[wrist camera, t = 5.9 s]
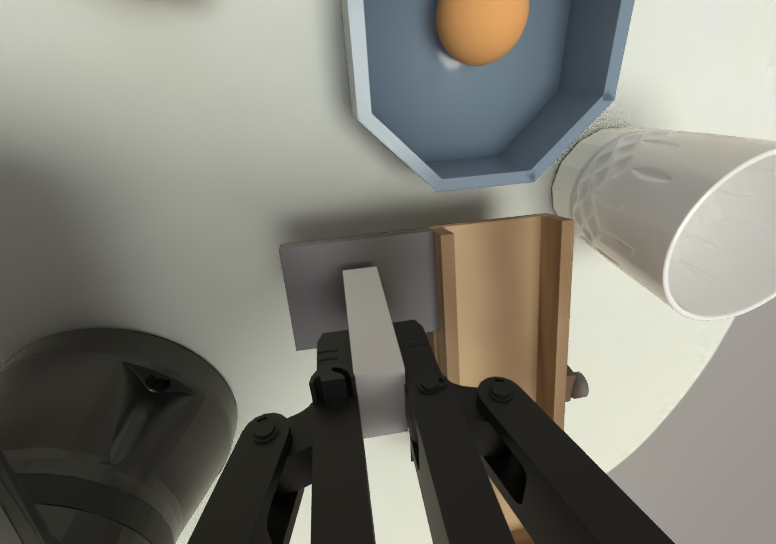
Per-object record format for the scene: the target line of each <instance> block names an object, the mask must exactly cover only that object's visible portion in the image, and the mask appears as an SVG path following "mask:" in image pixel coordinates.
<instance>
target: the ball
mask: <svg viewBox="0 0 776 544" xmlns="http://www.w3.org/2000/svg"><path fill="white" fill-rule="evenodd" d="M528 13H529V0H438V4H437V10H436V27H437V32H438V36H439V39H440V41H441V43H442V45H443V47H444V49H445V50H446V51H447V52H448V54H449V55H451V56H452V57H453V58H454V59H456V60H457V61H459V62H461V63H463V64H466V65H471V66H482V65H487V64H490V63H492V62H495V61H497V60H499V59H500V58H502V57H503V56H505V55H506V54H507V53H508V52H509V51H510V50H511V49H512V48H513V47H514V46H515V44H516V43H517V41H518V40H519V38H520V37H521V35H522V33H523V31H524V28H525V26H526V22H527V19H528Z"/></svg>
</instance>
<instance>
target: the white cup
mask: <svg viewBox="0 0 776 544" xmlns="http://www.w3.org/2000/svg"><path fill="white" fill-rule="evenodd" d="M552 195H553V209H554V211H555V212H556V214H557V215H558V216H561V217H565V218H569V219H573V220H575V224H574V233H576V234H577V235H579V236H580V237H581V238H582V239H583V240H584V241H585V242H586V243H587V244H588V245H590V246H591V247H592V248H593V249H594V250H596V251H597V252H599V253H600V254H601V255H603V256H604V257H605V258H606V259H607V260H608V261H610V262H611V263H612V264H613V265H615V266H616V267H617V268H619V269H620V270H621V271H623V272H624V273H626V274H627V275H628V276H630V277H631V278H632V279H634V280H635V281H636V282H638V283H639V284H640V285H642V286H643V287H644V288H646V289H647V290H648V291H650V292H651V293H653V294H654V295H655V296H657V297H658V298H659V299H661V300H662V301H663V302H665V303H666V304H667V305H669V306H670V307H671V308H673V309H674V310H675V311H676V312H678V313H679V314H681V315H683V316H685V317H687V318H690V319H693V320H699V321H716V320H723V319H728V318H731V317H735V316H738V315H741V314H743V313H746V312H748V311H750V310H753V309H754V308H757V307H758V306H760V305H762V304H764V303H766V302H767V301H769V300H771V299H772V298H774V297H775V296H776V141H772V140H763V139H754V138H745V137H736V136H727V135H718V134H710V133H696V132H685V131H673V130H662V129H647V130H645V129H637V128H629V127H621V128H607V129H601V130H599V131H597V132H596V133H594V134H592V135H590V136H589V137H587V138H585V139H583V140H581V141H580V142H578V143H577V145H576V146H575V147H574V148H573V149H572V150H571V152H570V153H569V154H568V155H567V156H566V158H565V159H564V160H563V161H562V162H561V164H560V167H559V169H558V172H557V175H556V178H555V180H554V183H553V186H552Z"/></svg>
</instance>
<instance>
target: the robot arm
mask: <svg viewBox="0 0 776 544" xmlns="http://www.w3.org/2000/svg"><path fill="white" fill-rule="evenodd" d="M343 279H344V289H345V298H346V307H347V317H348V326H349V329H348V330H341V331H334V332H327V333H323V334H322V335H321V337H320V339H319V340H318V342H317V371H316V372H315V373H314V374H313V375H312V377H311V379H310V382H309V386H310V390H311V395H312V400H313V402H312V403H311V404H310V406H309V407H307V408H306V409H305V410H304V411H302V412H300V413H298V414H296V415H294V416H291V417H289V418H285V417H284V416H283V415H281V414H277V413H268V414H263V415H261V416H259V417H256V418H255V419H253V420H252V421H251V422H249V423H248V424H247V426H246V427H245V428H244V430H243V431H242V433H241V435H240V437H239V439H238V441H237V443H236V445H235V447H234V450H233V452H232V454H231V456H230V458H229V460H228V462H227V464H226V466H225V468H224V470H223V472H222V474H221V476H220V478H219V480H218V482H217V484H216V486H215V488H214V490H213V492H212V494H211V496H210V498H209V500H208V502H207V505H206V507H205V509H204V511H203V513H202V515H201V517H200V519H199V521H198V523H197V525H196V527H195V529H194V531H193V533H192V535H191V537H190V539H189V541H188V543H187V544H289V542H290V539H291V535H292V531H293V528H294V524H295V521H296V517H297V514H298V510H299V506H300V503H301V499H302V496H303V492H304V488H305V487H307V486H308V485H310V484H312V506H311V544H376V542H375V534H374V525H373V517H372V508H371V500H370V491H369V483H368V474H367V466H366V457H365V449H364V441H363V438H369V437H375V436H381V435H387V434H393V433H399V432H405V431H408V429H409V433H410V446H411V462H412V461H414V463H415V467H416V472H417V476H418V480H419V485H420V489H421V493H422V498H423V502H424V506H425V510H426V515H427V519H428V523H429V528H430V532H431V536H432V541H433V544H515V541H514V539H513V536H512V534H511V531H510V529H509V526H508V524H507V521H506V519H505V516H504V514H503V512H502V509H501V507H500V504H499V502H498V499H497V497H496V494H495V492H494V489H493V487H492V484H491V482H490V479H491V480H492V482H493V483H494V485H495V486H496V488H497V489H498V491H499V492H500V493H501V495H502V496H503V498H504V499H505V501H506V502H507V504H508V505H509V507H510V508H511V509H512V511H513V512H514V514H515V515H516V517H517V518H518V520H519V521H520V522H521V524H522V525H523V527H524V528H525V530H526V531H527V533H528V534H529V536H530V537H531V538H532V540H533V541H534V543H535V544H675V543H674V542H673V541H672V540H671V539H670V538H669V537H668V536H667V535H666V534H665V533H664V532H663V531H662V530H661V529H660V528H659V527H658V526H657V525H656V524H655V523H654V522H653V521H652V520H651V519H650V518H649V517H648V516H647V515H646V514H645V513H644V512H643V511H642V510H641V509H640V508H639V507H638V506H637V505H636V504H635V503H634V502H633V501H632V500H631V499H630V498H629V497H628V496H627V495H626V494H625V493H624V492H623V491H622V490H621V489H620V488H619V487H618V486H617V485H616V484H615V483H614V482H613V481H612V480H611V478H610V477H608V475H607V474H606V473H605V472H604V471H603V470H602V469H601V468H600V467H599V466H598V465H597V464H596V463H595V462H594V461H593V460H592V459H591V458H590V457H589V456H588V455H587V454H586V453H585V452H584V451H583V450H582V449H581V448H580V447H579V446H578V445H577V444H576V443H575V442H574V441H573V440H572V439H571V438H570V437H569V436H568V435H567V434H566V433H565V432H564V431H563V430H562V429H561V428H560V427H559V426H558V425H557V424H556V423H555V422H554V421H553V420H552V419H551V418H550V417H549V416H548V415H547V414H546V413H545V412H544V411H543V410H542V409H541V408H540V407H539V406H538V405H537V404H536V403H535V402H534V401H533V400H532V399H531V397H530V396H529V395H528V394H527V393H526V392H525V391H524V390H523V389H522V388H521V387H520V386H519V385H517V384H516V383H515V382H513V381H512V380H509V379H507V378H504V377H496V376H494V377H489V378H486V379H484V380H483V381H481V382H480V384H479V386H478V387H468V386H461V385H457V384H455V383H452V382H450V381H449V380H448V379H447V377H446V376H444V375H443V374H442V373H441V371H440V369H439V366H438V364H437V361H436V359H435V356H434V354H433V351H432V348H431V346H430V344H429V341H428V338H427V336H426V333H425V331H424V328H423V326H422V325H420V324H419V323H418V322H417V321H416V320H415V319H414V320H407V321H400V322H392V320H391V317H390V313H389V310H388V306H387V303H386V299H385V295H384V292H383V288H382V285H381V281H380V277H379V274H378V270H377V267H368V268H359V269H351V270H343ZM407 424H408V427H407ZM236 425H237V408H236V403H235V400H234V397H233V395H232V392H231V390H230V389H229V387H228V385H227V384H226V382H225V381H224V380H223V378H222V377H221V376H220V375H219V374H218V373H217V371H215V370H214V369H213V368H212V367H211V366H210V365H209V364H208V363H206V362H205V361H204V360H202V359H201V358H200V357H198V356H197V355H195V354H194V353H192V352H190V351H188V350H186V349H185V348H183V347H181V346H178V345H176V344H174V343H172V342H169V341H167V340H164V339H161V338H158V337H154V336H151V335H147V334H143V333H139V332H133V331H127V330H118V329H83V330H75V331H69V332H64V333H59V334H56V335H52V336H49V337H46V338H44V339H41V340H39V341H36V342H34V343H32V344H30V345H29V346H27V347H25V348H24V349H22V350H21V351H19V352H18V353H17V354H15V355H14V356H13V357H12V358H11V359H10V360H9V361H8V362H6V363H5V364H4V365H3V366H2V367H1V368H0V544H176V541H177V539H178V537H179V535H180V533H181V532H182V530H183V529H184V527H185V526H186V524H187V523H188V521H189V520H190V518H191V517H192V515H193V514H194V512H195V511H196V509H197V507H198V506H199V504H200V503H201V501H202V500H203V498H204V496H205V495H206V493H207V492H208V490H209V488H210V487H211V485H212V483H213V482H214V480H215V478H216V477H217V476H218V474H219V473H220V471H221V470H222V468H223V467H224V465H225V463H226V461H227V458H228V456H229V453H230V450H231V447H232V443H233V438H234V434H235V430H236ZM488 476H489V477H488ZM489 478H490V479H489Z"/></svg>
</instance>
